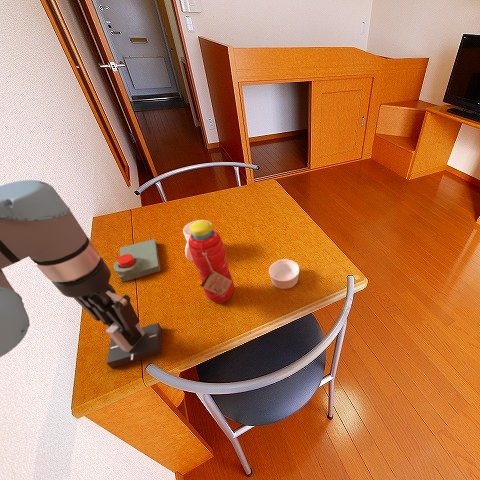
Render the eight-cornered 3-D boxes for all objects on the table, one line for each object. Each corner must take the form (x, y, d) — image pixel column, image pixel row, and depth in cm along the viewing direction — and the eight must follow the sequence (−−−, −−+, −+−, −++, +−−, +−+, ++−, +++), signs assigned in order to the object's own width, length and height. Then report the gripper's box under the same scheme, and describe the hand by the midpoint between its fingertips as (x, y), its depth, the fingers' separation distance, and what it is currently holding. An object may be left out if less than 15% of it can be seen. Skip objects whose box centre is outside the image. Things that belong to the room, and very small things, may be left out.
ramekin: (271, 268, 86) (270, 258, 83) (300, 268, 86) (299, 258, 83) (268, 291, 79) (267, 281, 76) (299, 291, 80) (299, 281, 77)
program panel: (110, 373, 60) (105, 367, 59) (116, 337, 67) (111, 331, 65) (161, 357, 63) (157, 351, 62) (162, 324, 70) (158, 318, 68)
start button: (135, 265, 80) (132, 260, 79) (119, 270, 78) (116, 265, 77) (135, 257, 83) (132, 252, 81) (120, 261, 81) (116, 256, 80)
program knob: (128, 352, 61) (111, 332, 56) (122, 350, 62) (104, 330, 56) (145, 333, 65) (131, 312, 60) (139, 331, 65) (124, 310, 60)
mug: (203, 272, 84) (194, 247, 77) (179, 266, 85) (168, 241, 78) (223, 246, 93) (216, 222, 86) (201, 242, 94) (193, 217, 87)
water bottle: (239, 313, 73) (220, 242, 57) (207, 320, 71) (178, 249, 55) (235, 280, 82) (218, 210, 66) (207, 286, 80) (182, 215, 64)
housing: (160, 271, 83) (156, 262, 81) (119, 283, 79) (113, 274, 77) (157, 243, 93) (152, 234, 90) (120, 253, 89) (114, 244, 86)
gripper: (129, 262, 49) (171, 333, 64) (63, 244, 52) (118, 317, 67) (91, 294, 43) (147, 364, 59) (20, 272, 46) (91, 344, 61)
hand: (131, 339), depth 63 cm, fingers closed on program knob, 2 cm apart
